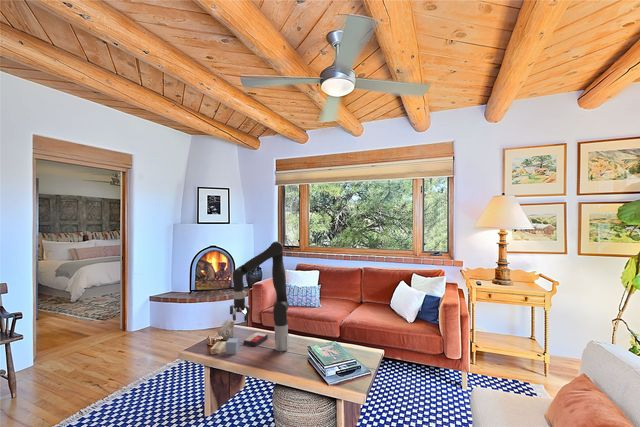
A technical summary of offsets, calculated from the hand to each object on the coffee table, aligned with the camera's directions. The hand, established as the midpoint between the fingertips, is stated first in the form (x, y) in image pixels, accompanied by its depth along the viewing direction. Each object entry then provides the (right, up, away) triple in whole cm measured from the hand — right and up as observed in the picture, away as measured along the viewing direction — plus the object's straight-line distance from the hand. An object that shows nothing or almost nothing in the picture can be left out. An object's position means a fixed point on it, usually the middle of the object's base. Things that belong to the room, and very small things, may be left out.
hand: (240, 320), depth 207 cm
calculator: (+8, -22, +16) cm, 28 cm away
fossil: (-17, -22, +22) cm, 35 cm away
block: (-5, -21, -1) cm, 22 cm away
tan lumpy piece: (-16, -21, +2) cm, 27 cm away
